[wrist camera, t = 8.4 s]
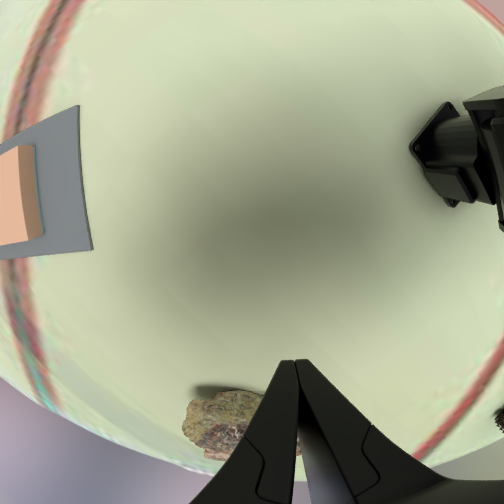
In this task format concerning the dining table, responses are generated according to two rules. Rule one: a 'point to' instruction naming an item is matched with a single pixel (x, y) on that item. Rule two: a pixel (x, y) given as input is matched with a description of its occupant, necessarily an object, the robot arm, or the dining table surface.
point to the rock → (221, 422)
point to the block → (19, 196)
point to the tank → (500, 420)
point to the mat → (55, 187)
